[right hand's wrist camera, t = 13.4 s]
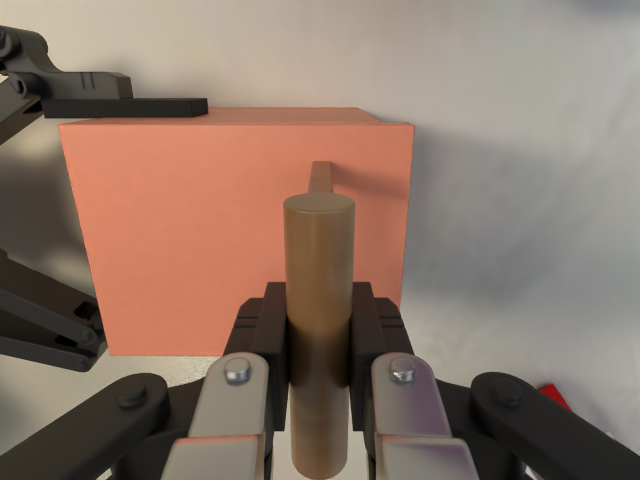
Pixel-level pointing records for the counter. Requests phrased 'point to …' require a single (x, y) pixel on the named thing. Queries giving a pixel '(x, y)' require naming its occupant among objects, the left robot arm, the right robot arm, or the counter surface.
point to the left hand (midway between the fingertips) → (211, 218)
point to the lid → (245, 243)
